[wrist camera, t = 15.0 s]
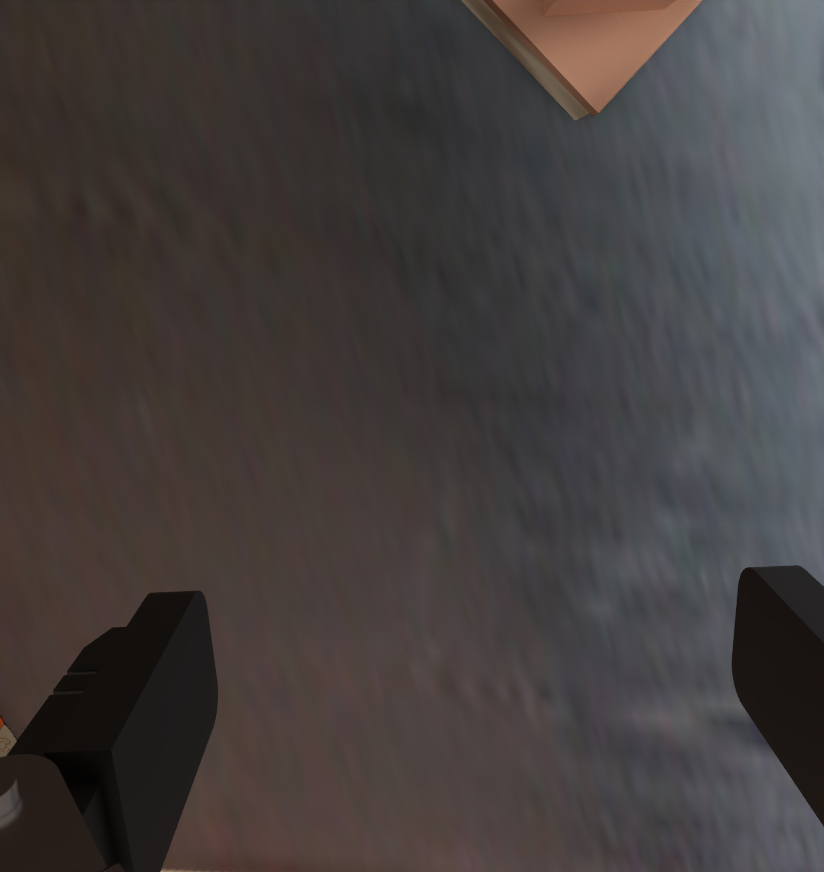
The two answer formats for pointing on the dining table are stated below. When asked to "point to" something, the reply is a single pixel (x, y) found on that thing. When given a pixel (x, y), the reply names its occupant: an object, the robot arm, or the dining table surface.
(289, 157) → the dining table surface
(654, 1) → the terracotta block
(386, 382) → the dining table surface
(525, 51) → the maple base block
